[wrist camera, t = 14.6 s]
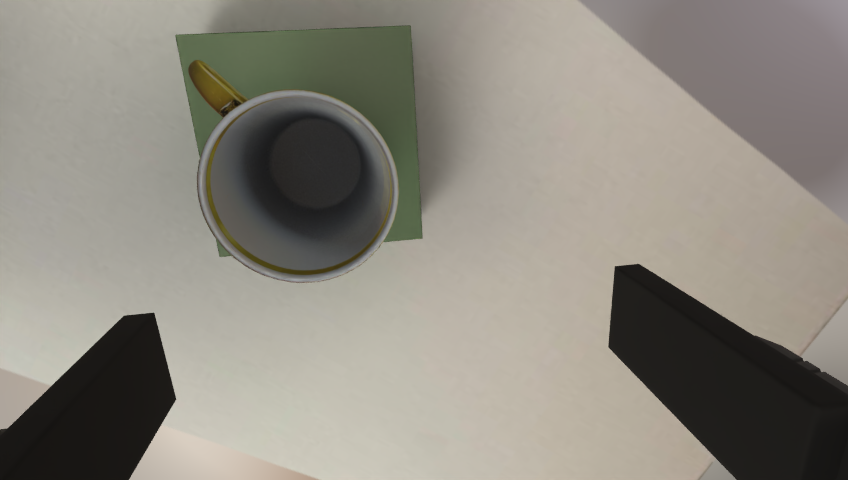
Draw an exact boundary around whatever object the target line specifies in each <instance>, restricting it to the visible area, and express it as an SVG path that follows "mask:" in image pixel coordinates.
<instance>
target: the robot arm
mask: <svg viewBox="0 0 848 480" xmlns="http://www.w3.org/2000/svg"><path fill="white" fill-rule="evenodd" d="M608 347H609V348H610V349H611V350H612V351H613V352H614V353H615V355H616V356H617V357H618V358H619V359H620V360H621V361H622V362H623V363H624V364H625V365H626V366H627V367H628V368H629V369H630V370H631V371H632V372H633V373H634V374H635V375H636V376H637V377H638V378H639V379H640V380H641V381H642V382H643V383H644V384H645V385H646V387H647V388H648V389H649V390H650V391H651V392H652V393H653V394H654V395H655V396H656V397H657V398H658V399H659V400H660V401H661V402H662V403H663V404H664V405H665V406H666V407H667V408H668V409H669V410H670V411H671V412H672V413H673V414H674V415H675V416H676V417H677V419H678V420H679V421H680V422H681V423H682V424H683V425H684V426H685V427H686V428H687V429H688V430H689V431H690V432H691V433H692V434H693V435H694V436H695V437H696V438H697V439H698V440H699V441H700V442H701V443H702V444H703V445H704V446H705V447H706V448H707V450H708V451H709V452H710V453H711V454H712V455H713V456H714V457H715V458H716V459H717V460H718V461H719V462H720V463H721V464H722V465H723V466H724V467H725V468H726V469H727V470H728V471H729V472H730V473H731V474H732V475H733V476H734V477H735V478H736V479H737V480H848V386H847V385H846V384H844V383H842V382H840V381H839V380H837V379H836V378H834V377H832V376H831V375H829V374H827V373H826V372H821V371H820V369H819V368H817V367H816V366H814V365H813V364H811V363H809V362H808V361H805V362H804V361H803V358H801V357H799V356H798V355H796V354H794V353H793V352H791V351H789V350H788V349H786V348H785V347H783V346H781V345H778V344H776V343H773V342H771V341H768V340H766V339H763V338H760V337H758V336H753V335H752V334H750V333H749V332H747V331H745V330H744V329H742V328H741V327H739V326H737V325H736V324H734V323H733V322H731V321H729V320H728V319H726V318H725V317H723V316H721V315H720V314H718V313H717V312H715V311H713V310H712V309H710V308H709V307H707V306H705V305H704V304H702V303H701V302H699V301H697V300H696V299H694V298H693V297H691V296H689V295H688V294H686V293H685V292H683V291H681V290H680V289H678V288H677V287H675V286H673V285H672V284H670V283H669V282H667V281H665V280H664V279H662V278H661V277H659V276H657V275H656V274H654V273H653V272H651V271H649V270H648V269H646V268H644V267H643V266H641V265H640V264H634V265H624V266H615V272H614V284H613V296H612V309H611V321H610V334H609V346H608ZM175 400H176V397H175V393H174V389H173V385H172V381H171V377H170V373H169V369H168V365H167V361H166V357H165V353H164V349H163V345H162V342H161V338H160V334H159V330H158V326H157V322H156V318H155V314H154V313H147V314H137V315H127V316H123V317H122V318H121V319H120V320H119V321H118V322H117V323H116V324H115V325H114V326H113V327H112V328H111V329H110V330H109V331H108V332H107V333H106V334H105V335H104V336H103V337H102V338H101V339H100V340H99V341H98V342H96V343H95V344H94V345H93V346H92V347H91V348H90V349H89V350H88V351H87V352H86V353H85V354H84V355H83V356H82V357H81V358H80V359H79V360H78V361H77V362H76V363H75V364H74V365H73V366H72V367H71V368H70V369H69V370H68V371H67V372H66V373H64V374H63V375H62V376H61V377H60V378H59V379H58V380H57V381H56V382H55V383H54V384H53V385H52V386H51V387H50V388H49V389H48V390H47V391H46V392H45V393H44V394H43V395H42V396H41V397H40V398H39V399H38V400H37V401H36V402H35V403H33V405H31V406H30V407H29V409H27V410H26V411H25V412H24V413H23V414H22V415H21V416H20V417H19V418H18V419H17V420H16V421H15V422H14V423H13V424H12V425H11V426H10V427H9V428H8V429H1V430H0V480H129V479H130V477H131V475H132V473H133V472H134V470H135V468H136V467H137V465H138V463H139V461H140V460H141V458H142V456H143V455H144V453H145V451H146V450H147V448H148V446H149V444H150V443H151V441H152V439H153V438H154V436H155V434H156V433H157V431H158V429H159V427H160V426H161V424H162V422H163V421H164V419H165V417H166V416H167V414H168V412H169V410H170V409H171V407H172V405H173V404H174V402H175Z"/></svg>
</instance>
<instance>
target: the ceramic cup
mask: <svg viewBox="0 0 848 480" xmlns="http://www.w3.org/2000/svg"><path fill="white" fill-rule="evenodd" d="M188 73H189V76H190V78H191V80H192V82H193V84H194V86H195V87H196V89H197V90H198V92H199V93H200V95H201V96H202V97H203V98H204V100H205V101H206V102H207V103H208V104H209V105H210V106H211V107H212V108H213V109H214V110H215V111H216V112H217V113H218V114H220V115H221V116H222V117H223V119H222V120H221V121H220V122H219V123H218V124H217V125H216V127H215V128H214V129H213V131H212V132H211V134H210V136H209V137H208V139H207V141H206V143H205V145H204V148H203V150H202V153H201V157H200V160H199V166H198V173H197V189H198V197H199V202H200V207H201V210H202V213H203V216H204V218H205V220H206V222H207V225H208V227H209V228H210V230H211V232H212V233H213V235H214V236H215V238H216V239H217V240H218V242H219V243H220V244H221V245H222V247H223V248H224V249H225V250H226V251H227V252H228V253H229V254H230V255H232V256H233V257H234V258H235V259H236V260H238V261H239V262H241V263H242V264H243V265H245V266H246V267H248V268H250V269H251V270H253V271H255V272H257V273H260V274H262V275H264V276H267V277H271V278H274V279H277V280H282V281H287V282H296V283H309V282H319V281H324V280H329V279H332V278H335V277H338V276H341V275H343V274H345V273H348V272H349V271H351V270H353V269H355V268H356V267H358V266H360V265H361V264H362V263H364V262H365V261H366V260H367V259H368V258H369V257H371V256H372V255H373V253H374V252H375V251H376V250H377V249H378V248H379V247H380V245H381V244H382V242H383V241H384V240H385V238H386V237H387V235H388V233H389V231H390V229H391V226H392V224H393V221H394V219H395V215H396V211H397V206H398V197H399V183H398V175H397V170H396V166H395V163H394V160H393V157H392V154H391V152H390V150H389V148H388V146H387V144H386V142H385V140H384V139H383V137H382V136H381V134H380V133H379V132H378V130H377V129H376V128H375V127H374V125H373V124H372V123H371V122H370V121H369V120H368V119H367V118H366V117H364V116H363V115H362V114H361V113H360V112H358V111H357V110H356V109H354V108H353V107H351V106H350V105H348V104H346V103H345V102H343V101H341V100H339V99H336V98H334V97H332V96H329V95H326V94H323V93H319V92H315V91H310V90H299V89H284V90H276V91H272V92H267V93H264V94H261V95H258V96H255V97H253V98H251V99H247V98H246V97H245V96H243V95H242V94H241V93H240V92H239V91H237V90H236V89H235V88H234V87H233V86H232V85H231V84H230V83H228V82H227V81H226V80H225V79H224V78H223V77H222V76H221V75H220V74H218V73H217V72H216V71H215V70H214V69H213V68H211V67H210V66H209V65H208V64H206V63H205V62H203V61H200V60H195V61H193V62H192V63H191V64H190V65H189V68H188Z"/></svg>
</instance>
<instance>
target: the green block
mask: <svg viewBox="0 0 848 480" xmlns="http://www.w3.org/2000/svg"><path fill="white" fill-rule="evenodd" d="M176 41H177V46H178V51H179V56H180V61H181V66H182V71H183V76H184V81H185V86H186V91H187V96H188V101H189V106H190V111H191V116H192V121H193V126H194V131H195V136H196V141H197V146H198V151H199V156H200V157H201V153H202V150H203V148H204V145H205V143H206V141H207V139H208V137H209V136H210V134H211V132H212V131H213V129H214V128H215V127H216V125H217V124H218V123H219V122H220V121H221V120H222V119H223V117H222V116H221V115H220V114H218V113H217V112H216V111H215V110H214V109H213V108H212V107H211V106H210V105H209V104H208V103H207V102H206V101H205V100H204V98H203V97H202V96H201V95H200V93H199V92H198V90H197V89H196V87H195V86H194V84H193V82H192V80H191V78H190V76H189V73H188V68H189V65H190V64H191V63H192V62H193V61H195V60H200V61H203V62H205V63H206V64H208V65H209V66H210V67H211V68H213V69H214V70H215V71H216V72H217V73H218V74H220V75H221V76H222V77H223V78H224V79H225V80H226V81H227V82H228V83H230V84H231V85H232V86H233V87H234V88H235V89H236V90H237V91H239V92H240V93H241V94H242V95H243V96H245V97H246V98H247V99H251V98H253V97H255V96H258V95H261V94H264V93H267V92H272V91H276V90H284V89H299V90H310V91H315V92H319V93H323V94H326V95H329V96H332V97H334V98H336V99H339V100H341V101H343V102H345V103H346V104H348V105H350V106H351V107H353V108H354V109H356V110H357V111H358V112H360V113H361V114H362V115H363V116H364V117H366V118H367V119H368V120H369V121H370V122H371V123H372V124H373V125H374V127H375V128H376V129H377V130H378V132H379V133H380V134H381V136H382V137H383V139H384V140H385V142H386V144H387V146H388V148H389V150H390V152H391V154H392V157H393V160H394V163H395V166H396V170H397V175H398V183H399V197H398V206H397V211H396V215H395V219H394V221H393V224H392V226H391V229H390V231H389V233H388V235H387V237H386V238H385V240H384V241H383V242H390V241H401V240H412V239H422V221H421V202H420V184H419V166H418V148H417V130H416V112H415V94H414V75H413V57H412V39H411V26H410V25H409V26H384V27H359V28H334V29H309V30H284V31H259V32H234V33H209V34H184V35H176ZM216 241H217V246H218V251H219V256H220V257H226V256H232V255H230V254H229V253H228V252H227V251H226V250H225V249H224V248H223V247H222V245H221V244H220V243H219V242H218V240H217V239H216Z"/></svg>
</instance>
